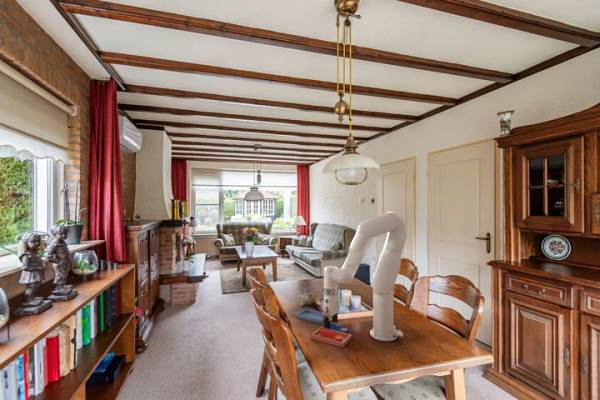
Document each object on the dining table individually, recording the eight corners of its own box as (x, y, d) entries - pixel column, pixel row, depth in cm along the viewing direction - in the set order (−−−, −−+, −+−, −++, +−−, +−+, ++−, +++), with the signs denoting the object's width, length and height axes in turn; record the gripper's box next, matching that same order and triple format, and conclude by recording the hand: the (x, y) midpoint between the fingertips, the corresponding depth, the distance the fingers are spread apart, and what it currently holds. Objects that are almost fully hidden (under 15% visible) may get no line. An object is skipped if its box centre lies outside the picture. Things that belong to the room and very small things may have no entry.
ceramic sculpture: (295, 289, 183) (316, 288, 187) (294, 303, 182) (315, 301, 187) (300, 294, 172) (322, 293, 177) (299, 308, 172) (322, 307, 177)
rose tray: (351, 338, 133) (351, 334, 133) (343, 347, 124) (343, 343, 124) (321, 330, 141) (321, 326, 142) (311, 338, 133) (311, 334, 133)
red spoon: (319, 336, 134) (319, 331, 134) (323, 333, 137) (323, 328, 137) (340, 342, 128) (340, 336, 128) (343, 339, 132) (343, 333, 132)
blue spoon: (325, 329, 143) (325, 323, 143) (329, 326, 147) (329, 321, 147) (345, 334, 138) (345, 328, 138) (348, 331, 141) (348, 325, 141)
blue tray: (330, 317, 159) (330, 313, 159) (321, 323, 150) (321, 320, 150) (305, 311, 167) (305, 308, 167) (296, 317, 159) (296, 314, 159)
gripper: (330, 296, 135) (330, 333, 134) (344, 288, 150) (344, 321, 149) (316, 294, 139) (316, 329, 138) (331, 285, 153) (331, 318, 153)
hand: (331, 325), depth 144 cm, fingers open, 8 cm apart
